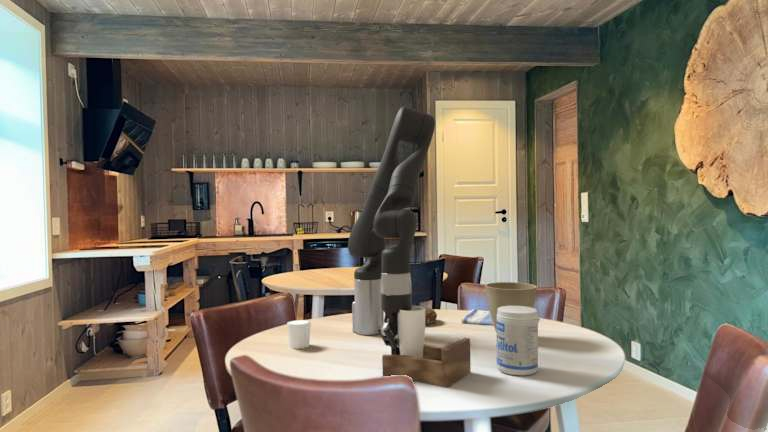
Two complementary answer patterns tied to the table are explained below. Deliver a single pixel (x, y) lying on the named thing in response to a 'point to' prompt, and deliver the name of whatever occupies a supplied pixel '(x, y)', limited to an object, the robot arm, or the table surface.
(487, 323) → the dish towel
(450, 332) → the table surface
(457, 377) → the holder
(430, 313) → the donut
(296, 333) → the white cup
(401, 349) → the drinking glass
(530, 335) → the supplement tub
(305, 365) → the table surface
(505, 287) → the plant pot
